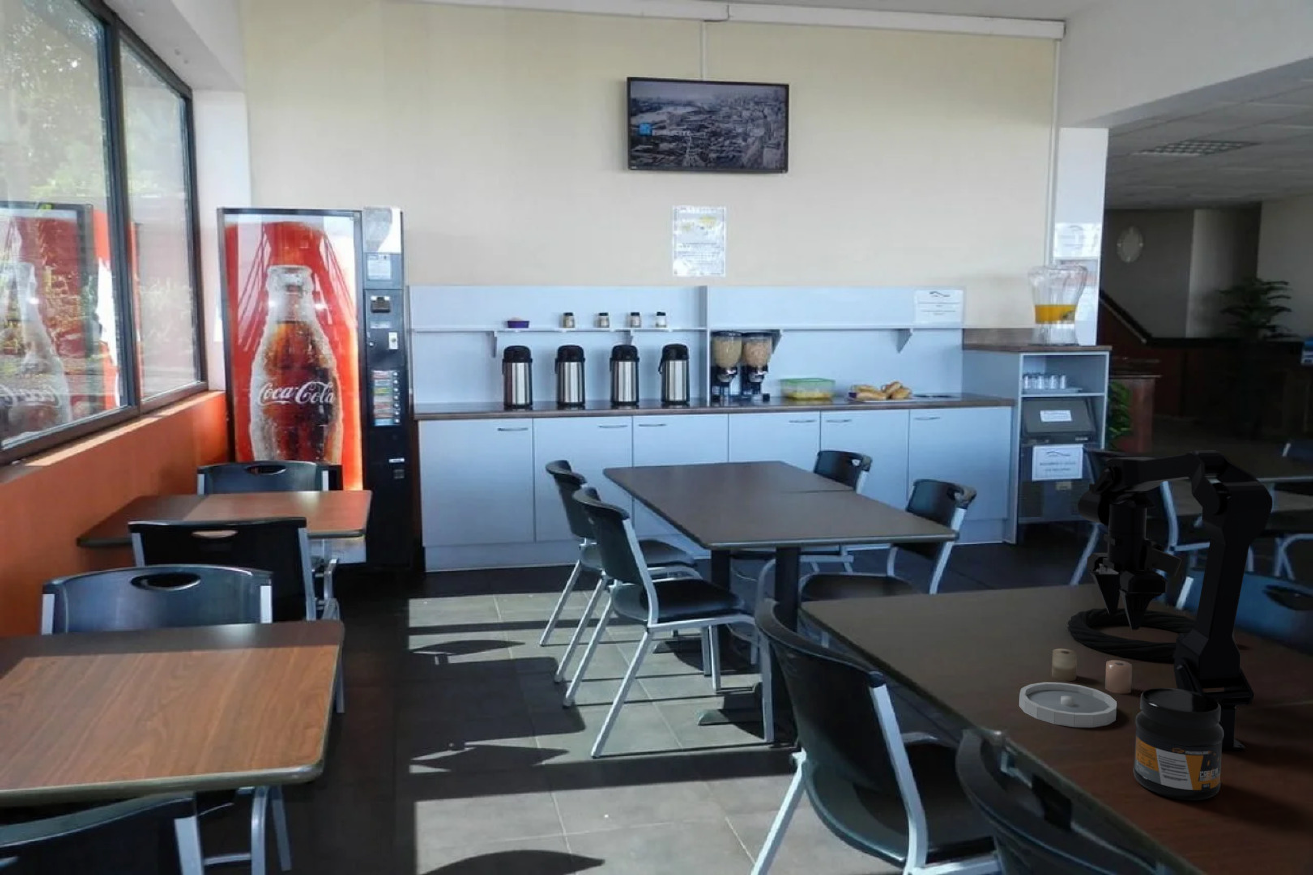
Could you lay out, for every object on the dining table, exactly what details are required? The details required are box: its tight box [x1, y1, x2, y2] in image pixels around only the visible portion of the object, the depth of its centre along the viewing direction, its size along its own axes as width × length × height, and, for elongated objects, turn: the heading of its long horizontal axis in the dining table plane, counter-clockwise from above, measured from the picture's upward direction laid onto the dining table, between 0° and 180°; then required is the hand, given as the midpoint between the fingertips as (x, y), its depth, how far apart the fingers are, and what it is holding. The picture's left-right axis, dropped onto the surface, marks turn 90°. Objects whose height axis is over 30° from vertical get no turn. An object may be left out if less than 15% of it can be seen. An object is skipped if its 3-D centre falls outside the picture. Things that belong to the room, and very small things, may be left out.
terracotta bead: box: [1104, 659, 1133, 695], centre depth 173 cm, size 4×4×4 cm
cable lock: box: [1067, 607, 1235, 662], centre depth 200 cm, size 28×4×30 cm
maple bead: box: [1051, 648, 1078, 682], centre depth 179 cm, size 4×4×4 cm
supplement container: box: [1132, 687, 1224, 801], centre depth 136 cm, size 10×10×12 cm
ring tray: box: [1018, 681, 1118, 728], centre depth 163 cm, size 14×14×2 cm
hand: (1123, 622), depth 172 cm, fingers open, 9 cm apart
